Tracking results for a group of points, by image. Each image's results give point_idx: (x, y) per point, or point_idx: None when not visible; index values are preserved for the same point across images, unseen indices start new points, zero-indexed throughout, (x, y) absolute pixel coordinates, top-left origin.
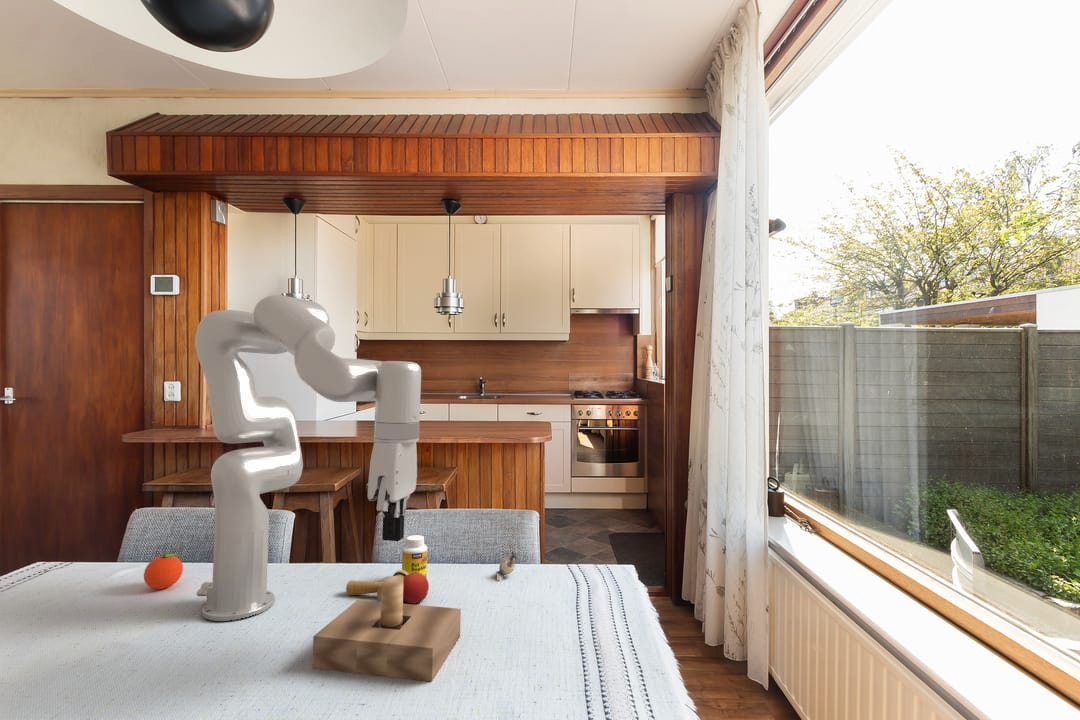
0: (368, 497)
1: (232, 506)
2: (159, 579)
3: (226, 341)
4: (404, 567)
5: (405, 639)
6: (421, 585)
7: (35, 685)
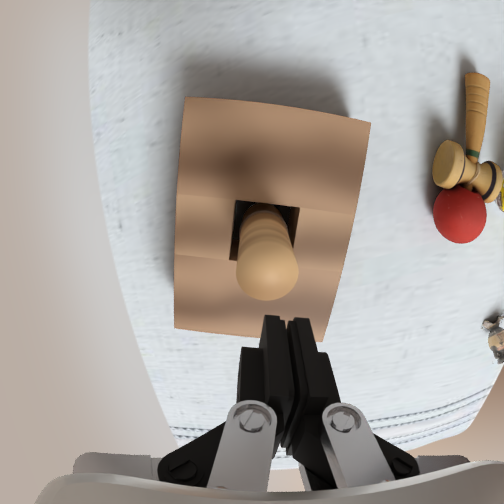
0: (42, 490)
1: None
2: None
3: None
4: None
5: (193, 281)
6: (450, 236)
7: None
